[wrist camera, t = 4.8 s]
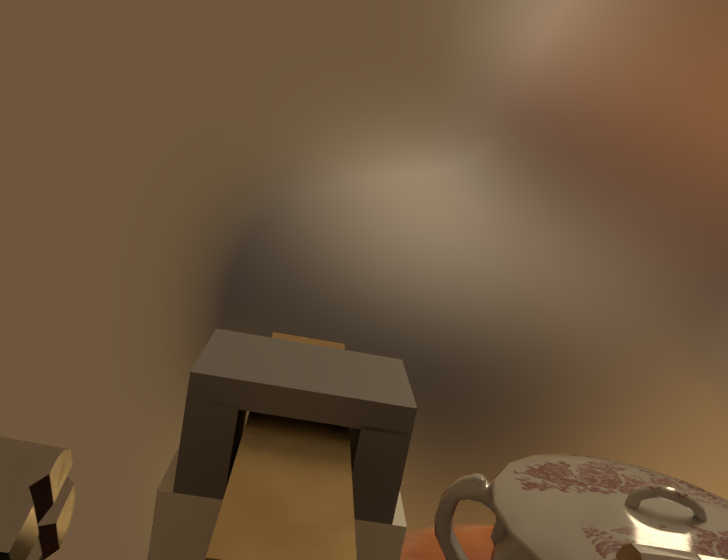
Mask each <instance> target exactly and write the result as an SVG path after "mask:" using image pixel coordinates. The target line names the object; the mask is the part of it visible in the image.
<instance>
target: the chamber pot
mask: <svg viewBox="0 0 728 560" xmlns="http://www.w3.org/2000/svg"><path fill="white" fill-rule="evenodd" d="M466 499H470V500H474V501H478V502H481V503H483V504H484V505H486V506H487V507H489V508H490V509H491V510H492V511H493V512H494V514H495V515H496V522H495V525H494V528H493V532H492V535H491V539H492V541H493V544H494V547H493V552H492V556H491V560H617V559H616V555H615V554H616V553H617V552H618V551H619V549H620V548H621V547H622V546H623V545H626V544H629V543H635V544H642V545H649V546H655V547H662V548H668V549H675V550H682V551H688V552H692V553H694V554H701V555H708V556H714V557H721V558H725V559H728V500H726V499H723V498H722V497H719V496H717V495H715V494H713V493H711V492H709V491H707V490H704V489H702V488H700V487H698V486H696V485H693V484H690V483H688V482H685V481H682V480H679V479H676V478H674V477H671V476H668V475H665V474H662V473H660V472H657V471H654V470H651V469H648V468H643V467H640V466H636V465H632V464H627V463H623V462H620V461H616V460H611V459H607V458H600V457H592V456H584V455H576V454H568V453H567V454H544V455H533V456H530V457H527V458H524V459H521V460H518V461H515V462H512V463H509V464H507V465H506V466H505V467H504V468H503V469H502V470H501V471H500V472H499V473H498V474H497V476H496V477H495V478H494V479H493V480H492V484H491V483H490V482H488V481H487V479H486V478H485V477H484V475H481V474H473V475H468V476H463V477H461V478H460V479H458V480H456V481H454V482H453V484H452V485H451V486H450V487H449V488H448V489H447V490H446V491H445V492H444V493H443V495H442V497H441V499H440V502H439V505H438V508H437V511H436V514H435V535H436V538H437V540H438V542H439V545H440V547H441V549H442V551H443V553H444V555H445V558H446V560H469V559H468V558H467V556H466V554H465V552H464V551H463V549H462V547H461V545H460V543H459V541H458V539H457V537H456V535H455V533H454V527H453V516H454V513H455V510H456V507H457V505H458V503H459V501H460V500H466Z"/></svg>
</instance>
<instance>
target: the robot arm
mask: <svg viewBox="0 0 728 560" xmlns="http://www.w3.org/2000/svg"><path fill="white" fill-rule="evenodd" d="M71 466H72V458H71V451H70V449H65V448H59V447H53V446H48V445H42V444H37V443H32V442H26V441H21V440H15V439H10V438H4V437H0V560H44V559H46V558H47V557H49V556H50V555H51V554H53V553H54V552H56V551H57V550H58V549H59V548H60V546H61V544H62V541H63V539H64V536H65V534H66V532H67V529H68V526H69V522H70V519H71V516H72V512H73V508H74V500H75V485H74V483H73V482H72V481H71V480H70V479H69V478H68V477H67V474H68V473H69V470H70V468H71ZM615 555H616V559H617V560H728V559H725V558H721V557H714V556H708V555H701V554H694V553H692V552H688V551H682V550H675V549H668V548H662V547H655V546H649V545H642V544H635V543H629V544H626V545H623V546H622V547H621V548H620V549H619V551H618V552H617V553H616V554H615Z"/></svg>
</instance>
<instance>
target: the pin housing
mask: <svg viewBox="0 0 728 560" xmlns="http://www.w3.org/2000/svg"><path fill="white" fill-rule="evenodd" d="M250 411H251V412H257V413H263V414H270V415H276V416H282V417H289V418H295V419H301V420H308V421H314V422H320V423H327V424H333V425H339V426H346V427H349V434H350V451H351V469H352V486H353V503H354V520H355V537H356V555H357V560H400V555H401V551H402V546H403V542H404V537H405V532H406V528H407V526H406V521H405V515H404V510H403V505H402V500H401V494H400V486H401V481H402V477H403V472H404V467H405V462H406V458H407V453H408V449H409V444H410V440H411V435H412V430H413V425H414V421H415V416H416V412H417V406H416V403H415V400H414V397H413V393H412V390H411V387H410V384H409V381H408V378H407V374H406V371H405V368H404V365H403V361H402V360H401V359H395V358H389V357H383V356H377V355H371V354H365V353H359V352H353V351H347V350H341V349H335V348H329V347H323V346H317V345H311V344H305V343H299V342H293V341H287V340H281V339H275V338H269V337H263V336H257V335H251V334H245V333H239V332H233V331H227V330H221V329H216V330H215V332H214V333H213V335H212V337H211V339H210V340H209V342H208V343H207V345H206V347H205V348H204V350H203V352H202V353H201V355H200V357H199V358H198V360H197V362H196V363H195V365H194V367H193V368H192V370H191V372H190V378H189V385H188V392H187V398H186V405H185V412H184V419H183V426H182V432H181V440H180V445H179V448H178V450H177V452H176V454H175V456H174V458H173V460H172V462H171V464H170V466H169V468H168V470H167V472H166V474H165V476H164V478H163V480H162V482H161V484H160V486H159V488H158V490H157V496H156V503H155V511H154V518H153V525H152V533H151V539H150V546H149V553H148V560H205V559H206V555H207V552H208V548H209V545H210V542H211V538H212V535H213V532H214V528H215V525H216V522H217V518H218V515H219V512H220V508H221V505H222V502H223V498H224V495H225V492H226V488H227V485H228V482H229V478H230V475H231V472H232V468H233V465H234V462H235V458H236V455H237V452H238V448H239V445H240V442H241V438H242V435H243V432H244V428H245V425H246V422H247V418H248V415H249V412H250Z"/></svg>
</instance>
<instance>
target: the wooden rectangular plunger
mask: <svg viewBox="0 0 728 560" xmlns="http://www.w3.org/2000/svg"><path fill="white" fill-rule="evenodd" d="M272 338H275V339H281V340H287V341H293V342H299V343H305V344H311V345H317V346H323V347H329V348H335V349H341V350H345V349H344V344H341V343H335V342H329V341H323V340H317V339H311V338H305V337H299V336H293V335H287V334H281V333H275V332H273V335H272ZM205 560H357V555H356V537H355V520H354V503H353V486H352V469H351V451H350V434H349V427H346V426H339V425H333V424H327V423H320V422H314V421H308V420H301V419H295V418H289V417H282V416H276V415H270V414H263V413H257V412H251V411H250V412H249V415H248V418H247V422H246V425H245V428H244V432H243V435H242V438H241V442H240V445H239V448H238V452H237V455H236V458H235V462H234V465H233V468H232V472H231V475H230V478H229V482H228V485H227V488H226V492H225V495H224V498H223V502H222V505H221V508H220V512H219V515H218V518H217V522H216V525H215V528H214V532H213V535H212V538H211V542H210V545H209V548H208V552H207V555H206V559H205Z"/></svg>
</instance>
